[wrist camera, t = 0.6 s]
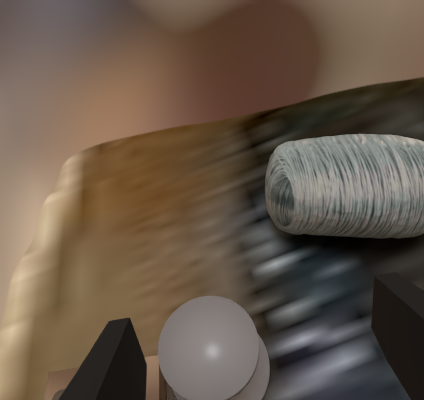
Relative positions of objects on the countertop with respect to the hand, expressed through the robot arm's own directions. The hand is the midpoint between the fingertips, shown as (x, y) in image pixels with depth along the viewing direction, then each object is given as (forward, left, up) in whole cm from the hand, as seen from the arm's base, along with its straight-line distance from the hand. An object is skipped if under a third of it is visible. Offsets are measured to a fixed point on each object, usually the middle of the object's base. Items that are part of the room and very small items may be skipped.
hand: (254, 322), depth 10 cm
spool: (+14, -10, -17) cm, 24 cm away
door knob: (+3, +3, -16) cm, 17 cm away
